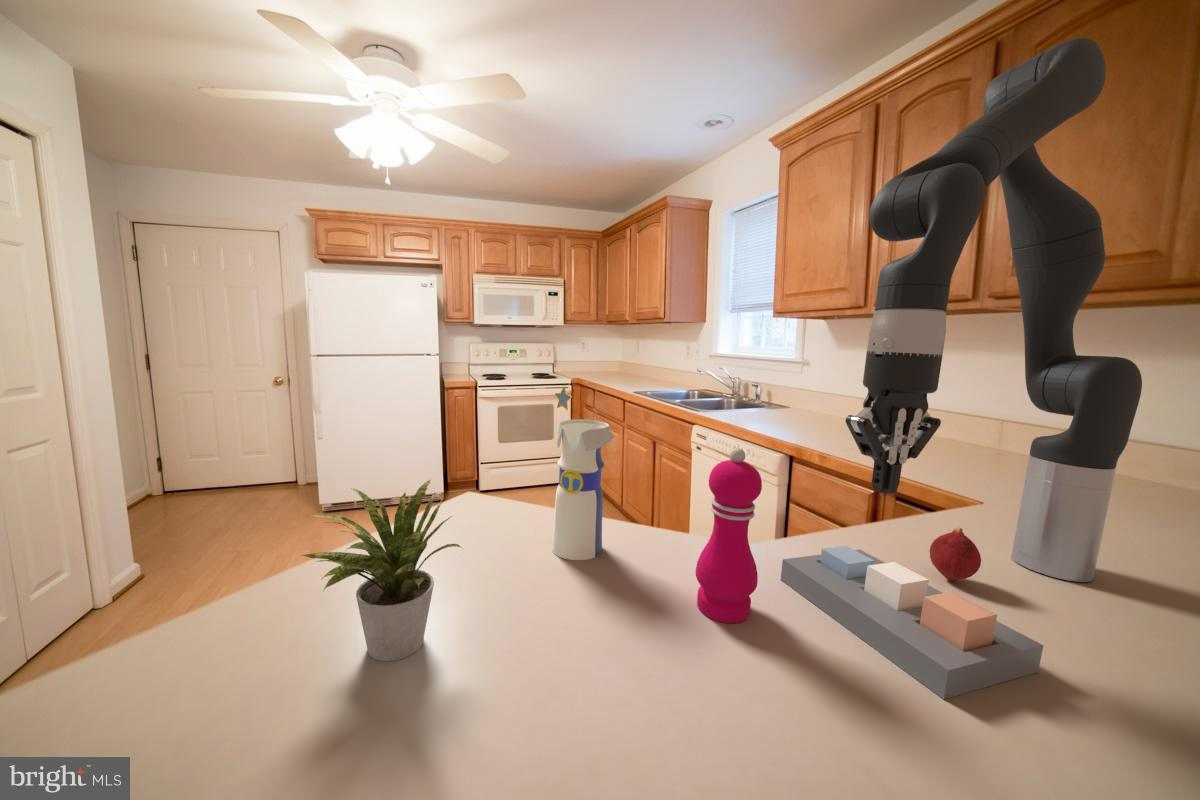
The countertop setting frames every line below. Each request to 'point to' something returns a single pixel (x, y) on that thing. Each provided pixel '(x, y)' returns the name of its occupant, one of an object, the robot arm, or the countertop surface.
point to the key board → (912, 633)
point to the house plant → (389, 576)
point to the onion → (955, 555)
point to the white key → (896, 585)
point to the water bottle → (579, 487)
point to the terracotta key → (958, 621)
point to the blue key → (845, 562)
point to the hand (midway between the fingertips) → (884, 491)
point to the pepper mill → (729, 542)
